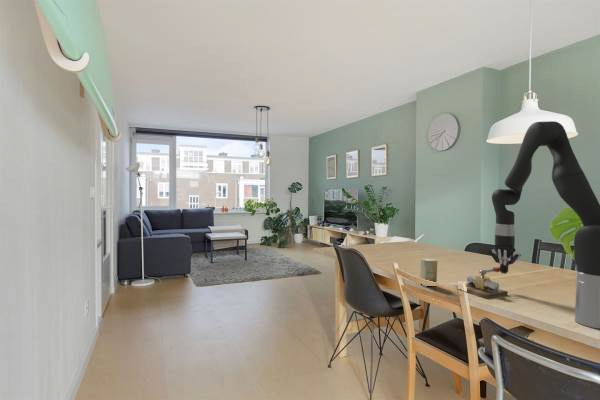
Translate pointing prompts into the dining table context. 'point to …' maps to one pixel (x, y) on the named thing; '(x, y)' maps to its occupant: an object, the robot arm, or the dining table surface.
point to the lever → (495, 269)
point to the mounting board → (485, 292)
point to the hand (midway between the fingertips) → (504, 273)
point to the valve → (483, 283)
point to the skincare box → (428, 270)
